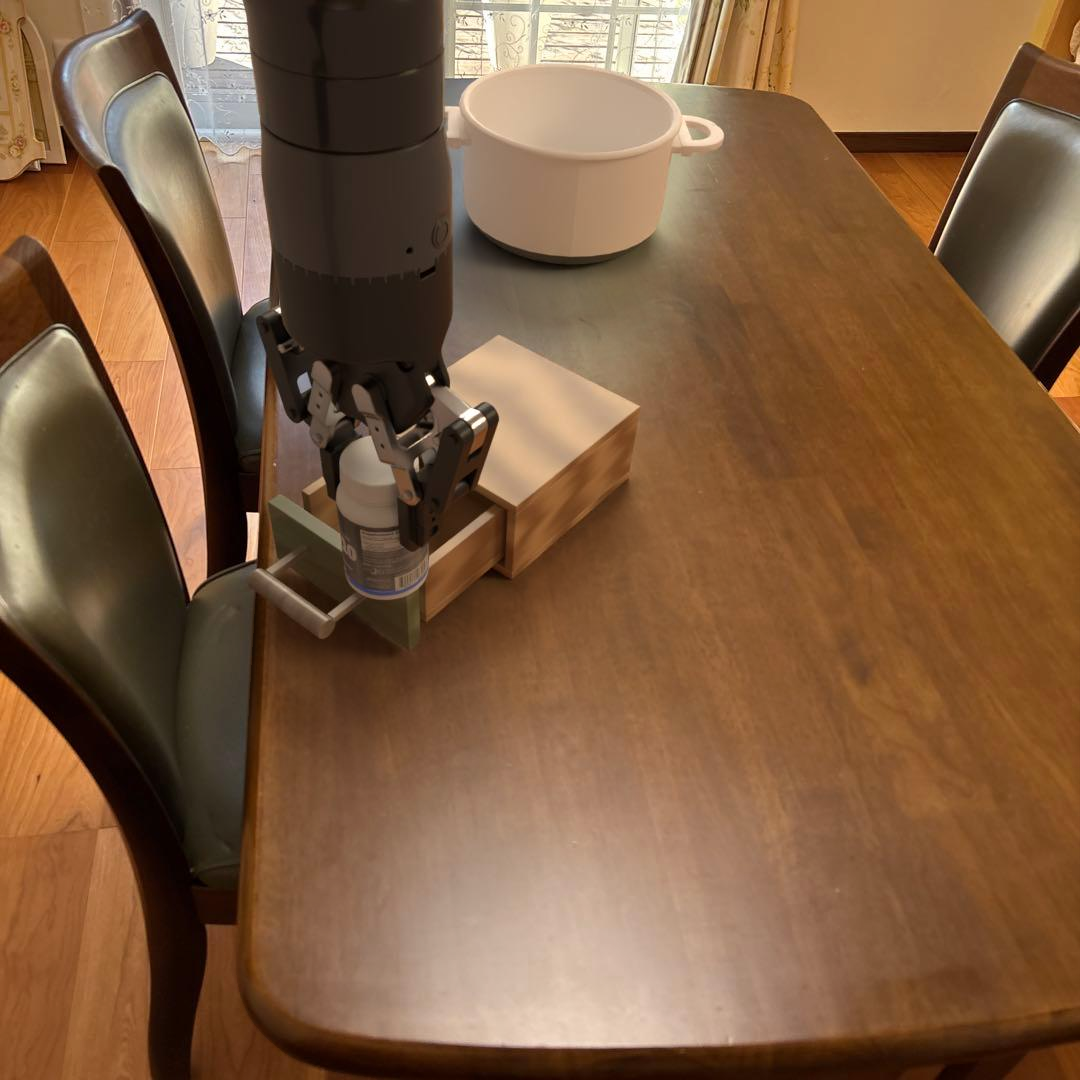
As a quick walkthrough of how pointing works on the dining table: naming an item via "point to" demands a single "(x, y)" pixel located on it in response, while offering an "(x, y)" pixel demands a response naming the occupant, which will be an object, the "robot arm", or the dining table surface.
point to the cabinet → (544, 443)
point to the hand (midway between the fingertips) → (383, 515)
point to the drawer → (317, 556)
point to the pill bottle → (374, 527)
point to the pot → (569, 159)
